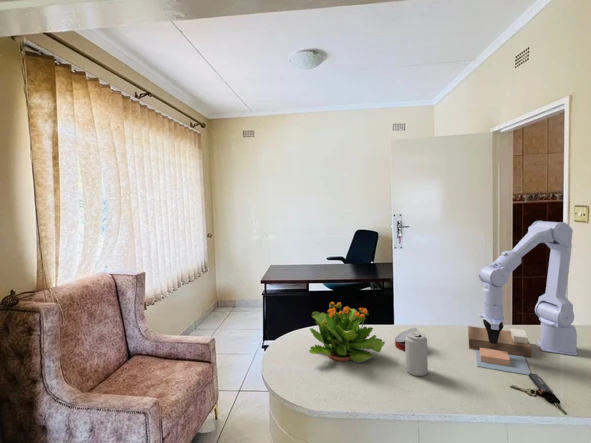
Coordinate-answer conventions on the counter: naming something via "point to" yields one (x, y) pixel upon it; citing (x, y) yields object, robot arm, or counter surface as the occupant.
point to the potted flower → (344, 335)
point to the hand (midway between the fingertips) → (492, 342)
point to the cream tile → (519, 336)
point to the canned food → (402, 339)
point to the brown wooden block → (505, 342)
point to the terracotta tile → (494, 356)
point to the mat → (516, 365)
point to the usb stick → (539, 382)
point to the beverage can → (416, 353)
